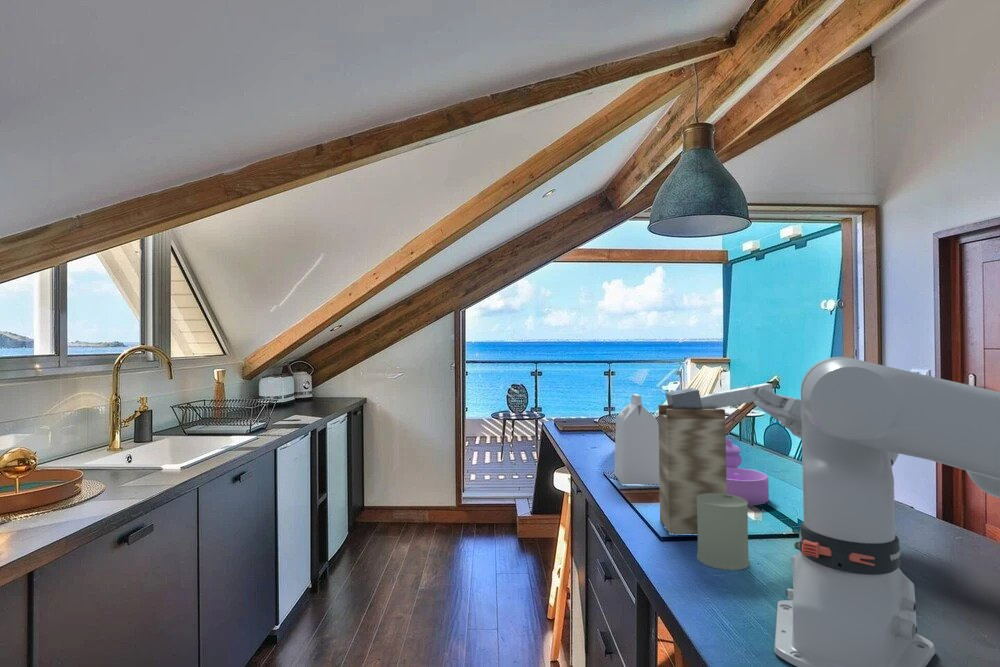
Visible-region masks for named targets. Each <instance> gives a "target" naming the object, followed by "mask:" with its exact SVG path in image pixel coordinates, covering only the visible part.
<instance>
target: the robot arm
mask: <svg viewBox="0 0 1000 667" xmlns="http://www.w3.org/2000/svg"><path fill="white" fill-rule="evenodd" d="M755 394H756V395H757V396H759V397H761V398H763V399H764V400H759V401H753V404H754V405H755V406H756V407H757V408H759V409H761V410H762V411H763V412H765V413H767V415H769V416H771V418H774V419H775V420H776V421H779V422H781V423H780V425H781V426H782V427H784V428H785V429H788V430H789V431H790V432H791V433H792V435H793V436H795V437H796V438H798V439H800V440H801V448H802V449H801V454H802V456H801V457H802V458H801V460H802V501H803V502H802V503H803V506H802V507H803V508H802V509H803V512H802V513H803V521H802V522H800V523H801V524H800V530H799V533H798V534H799V542H800V549H799V552H798V553H796V554H795V555H792V559H791V560H792V588H787V589H786V590H785V594H786V595H785V596H786V598H787V600H785V599H784V600H779V601H777V604H776V605H777V606H776V617H775V618H776V619H775V632H774V633H775V634H774V635H775V637H774V654H775V655H777V656H778V657H779V658H780V659H782V660H784V661H786V662H787V663H789V664H791V665H793V666H795V667H927V666H928V664H929V662H931V660H932V658H933V657H934V655H936V649H935V644H934V643H933V642H932V641H931V640H930V639H928V638H926V637H925V636H922V635H920V634H918V629H917V628H918V627H917V614H916V610H917V604H916V594H915V593H916V592H915V584H914V583H913V582H912V580H910V579H909V578H908V577H907V576H906V575H905V574H904V573H903V572H902V570H901V569H900V566H901V565H900V564H901V554H902V551H901V550H902V549H901V546H900V539H899V537H898V536H897V534H896V519H895V518H896V517H895V516H896V514H895V512H896V511H895V479H894V473H893V466H894V464H895V462H896V461H897V460H898V457H899V455H904V456H908V457H914V458H919V459H923V460H927V461H931V462H935V463H940V464H943V465H946V466H950V467H954V468H957V469H960V470H963V471H966V474H967V475H968V476H969V478H970V480H971V481H972V483H974V484H975V485H976V486H977V487H978V488H979V490H980V489H981V490H982V491H983V492H984V493H985V494H987V495H990V496H992V497H994V498H997V499H999V500H1000V391H997V390H992V389H987V388H983V387H979V386H975V385H970V384H966V383H961V382H957V381H952V380H949V379H948V380H947V379H943V378H939V377H934V376H930V375H927V374H922V373H917V372H912V371H909V370H905V369H900V368H895V367H892V366H891V367H890V366H887V365H882V364H878V363H874V362H870V361H867V360H866V361H865V360H861V359H857V358H853V357H849V356H847V357H846V356H834V357H828V358H825V359H822V360H820V361H818V362H817V363H815V364H813V365H812V366H811V367H810V368H809V369H808V370H807V372H805V374H804V376H803V378H802V381H801V384H800V398H796V397H793V396H787V395H784V394H783V395H782V394H778V393H774V394H773V393H771V392H768V391H766V390H764V389H762V388H758V389H757V391H756V393H755ZM788 599H789V600H788Z"/></svg>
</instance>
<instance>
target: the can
mask: <svg viewBox="0 0 1000 667" xmlns="http://www.w3.org/2000/svg"><path fill="white" fill-rule="evenodd" d="M696 499H697V526H698V536H697V554H696V559H697V560H698V561H699V562H700V563H702V564H703V565H705V566H708V567H710V568H713V569H719V570H723V571H725V570H726V571H740V570H744V569H747V568H748V567H749V566H750V564H751V563H750V558H749V532H748V531H749V529H748V527H749V525H748V522H749V520H748V519H749V517H748V514H749V513H748V508H749V506H748V501H747V500H745V499H744V498H741V497H738V496H735V495H730V494H723V493H705V494H700V495H698V496H697V497H696Z"/></svg>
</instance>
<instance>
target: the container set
mask: <svg viewBox="0 0 1000 667" xmlns="http://www.w3.org/2000/svg"><path fill="white" fill-rule="evenodd" d="M741 451H742V450H741V449H740V447H739V446H738V445H736V444H733V440H732V439H730V438H729V439H727V438H726V485H727V494H730V495H735V496H738V497H741V498H744V499H745V500H747V501H748V505H756V504H763V503H766V502H768V501H769V502H770V497H769V496H770V495H769V494H770V493H769V487H770V485H769V475H768V474H766V473H764V472H763V471H762V472H761V471H758V470H753V469H750V468H749V469H748V468H741V467H740V465H741V464H742V461H743V460H742V459H743V458H742V456H741V455H740V453H741ZM769 502H768V503H769Z"/></svg>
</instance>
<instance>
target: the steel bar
mask: <svg viewBox="0 0 1000 667" xmlns="http://www.w3.org/2000/svg"><path fill="white" fill-rule="evenodd" d="M758 388H762V389H764V390H766V391H768V392H771V393H773V394H775V392H774V388H773V384H772V383H767V382H765V383H764V382H763V383H760V384H754V385H750V386H744V387H738V388H734V389H730V390H729V389H728V390H723V391H719V392H712V393H707V394H703V395H700V390H699V389H696V388H693V387H688V388H683V389H678V390H674V391H668V392H664V394H665V398H666V402H667V405H668V407H669V409H723V408H726V407H731V406H732V407H733V406H736V405H742V404H747V403H754V401H759V400H764V399H763V398H761V397H759V396H757V395H756V394H755V393H756V391H757V389H758Z"/></svg>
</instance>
